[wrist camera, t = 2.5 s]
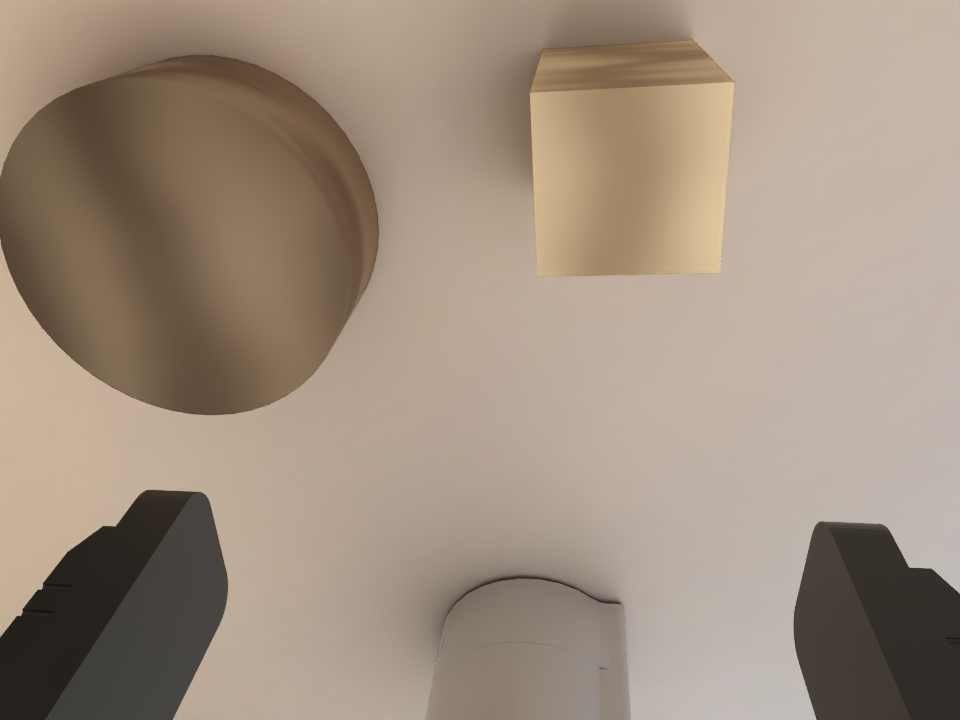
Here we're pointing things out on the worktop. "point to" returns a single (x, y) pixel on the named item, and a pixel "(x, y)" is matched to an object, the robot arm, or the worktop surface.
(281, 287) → the walnut plinth
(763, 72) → the worktop surface
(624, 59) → the oak block
